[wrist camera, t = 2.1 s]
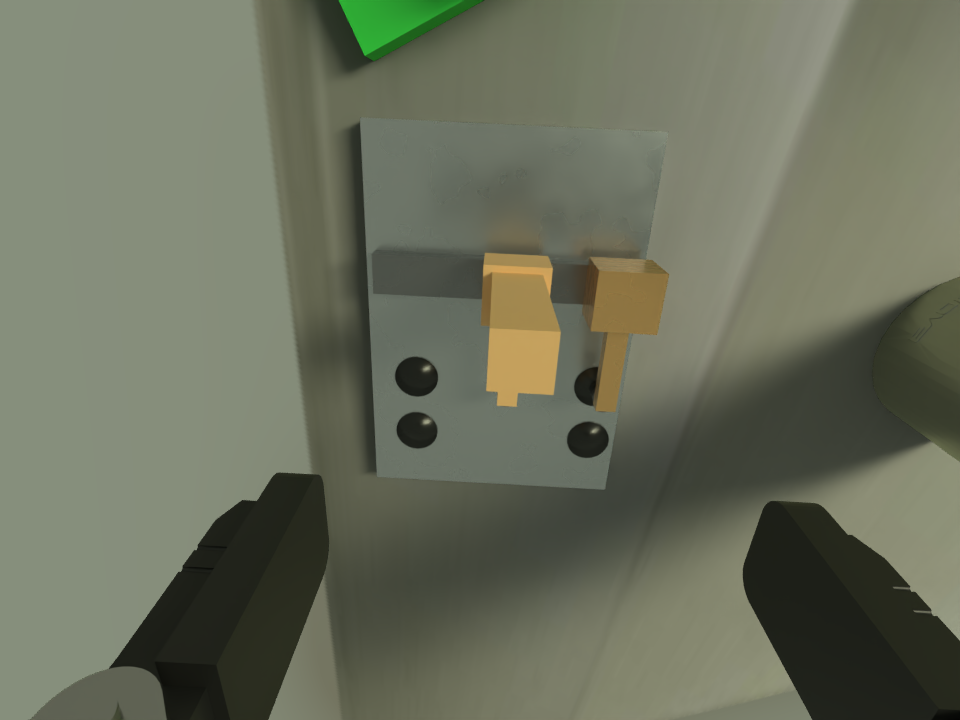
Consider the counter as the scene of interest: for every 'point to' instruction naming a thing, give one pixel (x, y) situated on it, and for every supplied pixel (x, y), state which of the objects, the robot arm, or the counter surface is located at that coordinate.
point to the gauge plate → (459, 280)
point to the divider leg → (519, 326)
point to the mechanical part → (397, 21)
